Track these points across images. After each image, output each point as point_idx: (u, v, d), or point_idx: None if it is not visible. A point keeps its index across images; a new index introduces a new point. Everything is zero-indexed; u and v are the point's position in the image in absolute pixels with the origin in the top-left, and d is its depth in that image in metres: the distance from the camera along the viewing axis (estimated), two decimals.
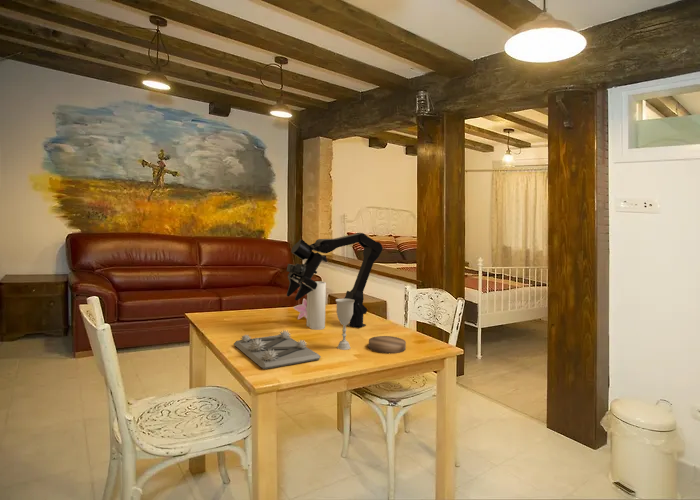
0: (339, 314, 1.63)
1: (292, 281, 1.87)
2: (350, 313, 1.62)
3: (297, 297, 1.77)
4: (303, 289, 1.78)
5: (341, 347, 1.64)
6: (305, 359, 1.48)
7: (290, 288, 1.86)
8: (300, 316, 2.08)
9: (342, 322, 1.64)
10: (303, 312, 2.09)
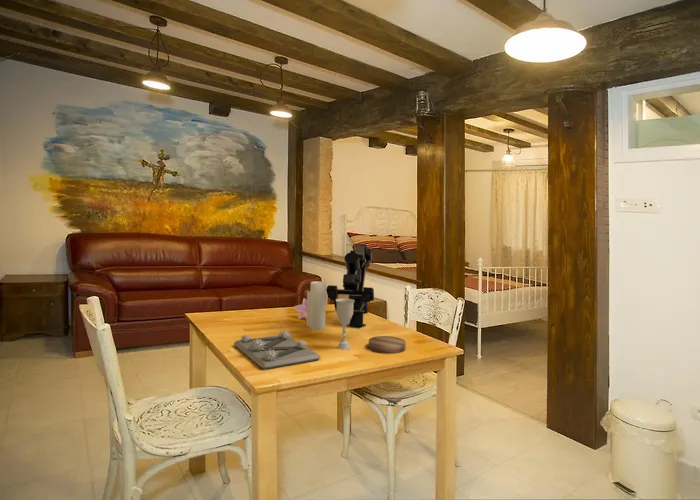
0: (339, 314, 1.63)
1: (336, 294, 1.74)
2: (350, 313, 1.62)
3: (360, 308, 1.70)
4: (363, 300, 1.73)
5: (341, 347, 1.64)
6: (305, 359, 1.48)
7: (336, 302, 1.73)
8: (300, 316, 2.08)
9: (342, 322, 1.64)
10: (303, 312, 2.09)
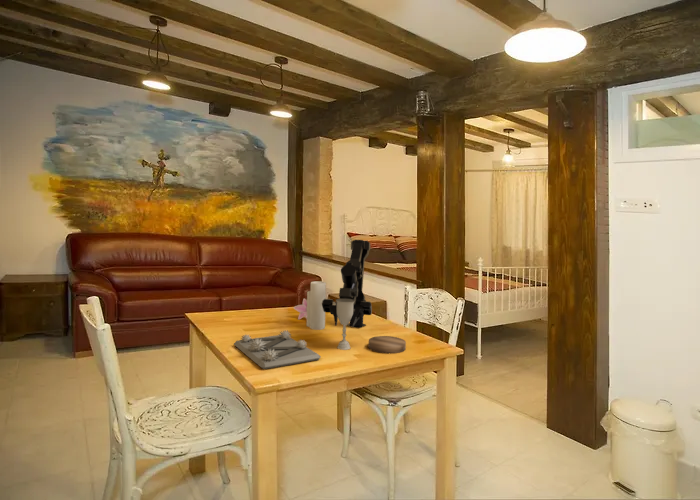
0: (339, 314, 1.63)
1: (336, 309, 1.67)
2: (350, 313, 1.62)
3: (353, 323, 1.64)
4: (356, 314, 1.66)
5: (341, 347, 1.64)
6: (305, 359, 1.48)
7: (336, 317, 1.66)
8: (300, 316, 2.07)
9: (342, 322, 1.64)
10: (303, 312, 2.08)
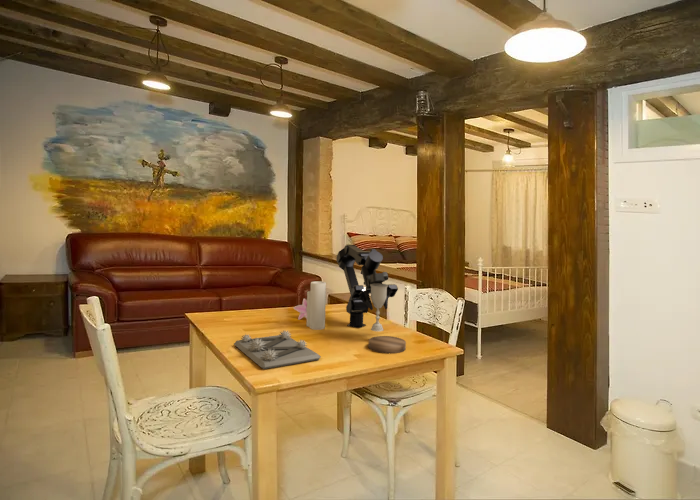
0: (376, 299, 1.71)
1: None
2: None
3: None
4: None
5: (378, 329, 1.73)
6: (305, 359, 1.48)
7: None
8: (300, 316, 2.07)
9: (378, 306, 1.73)
10: (303, 312, 2.08)
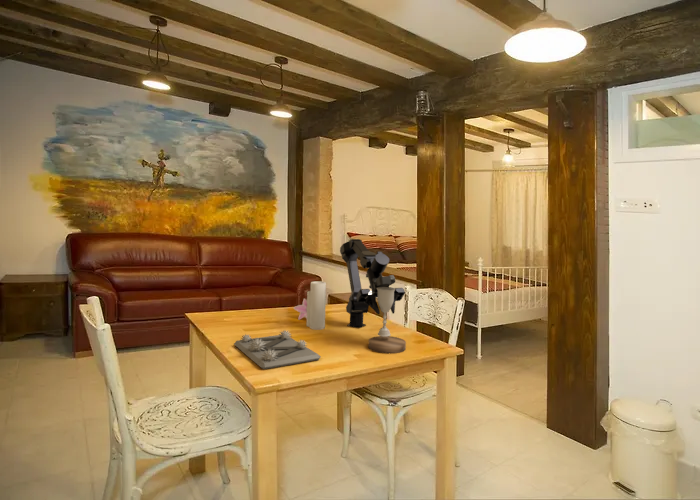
0: (384, 302, 1.66)
1: None
2: (393, 300, 1.68)
3: None
4: None
5: (385, 334, 1.67)
6: (305, 359, 1.48)
7: None
8: (300, 316, 2.07)
9: (385, 310, 1.67)
10: (303, 312, 2.08)
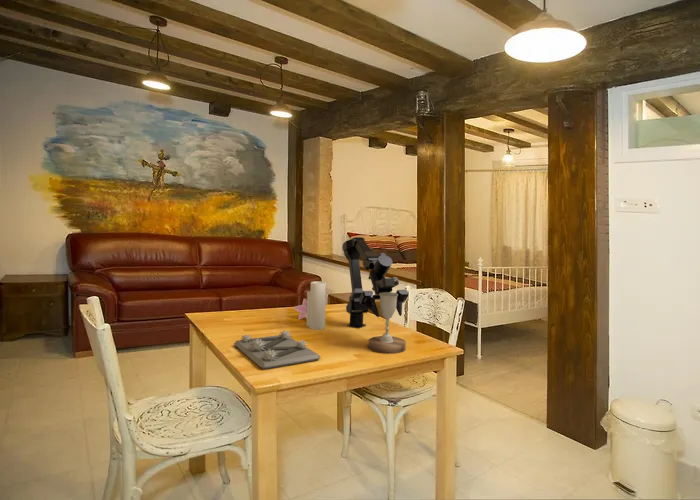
0: (386, 309, 1.63)
1: None
2: None
3: None
4: None
5: (387, 340, 1.65)
6: (305, 359, 1.48)
7: None
8: (300, 316, 2.07)
9: (388, 316, 1.65)
10: (303, 312, 2.08)
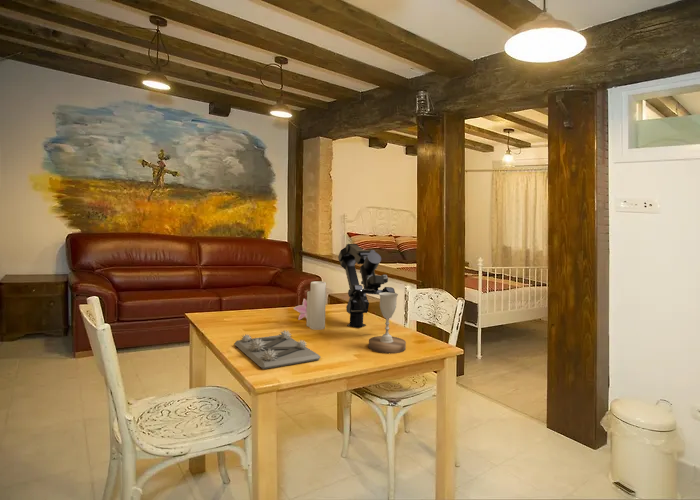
0: (386, 308, 1.64)
1: None
2: (395, 306, 1.65)
3: None
4: None
5: (387, 340, 1.65)
6: (305, 359, 1.48)
7: None
8: (300, 317, 2.07)
9: (388, 316, 1.65)
10: (303, 313, 2.08)
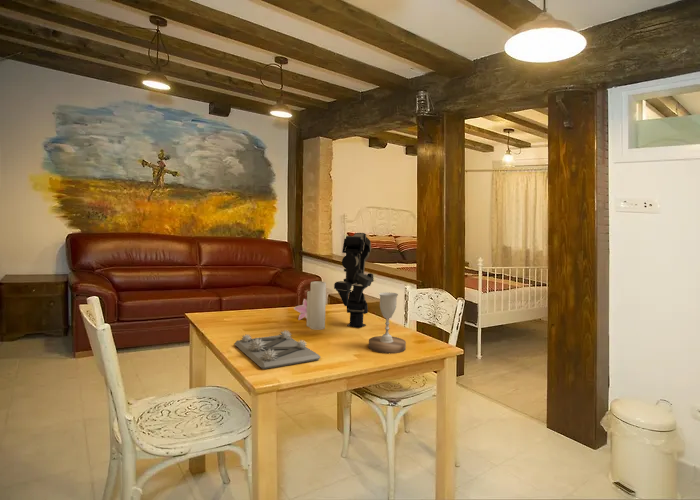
0: (386, 308, 1.64)
1: None
2: (395, 306, 1.65)
3: None
4: None
5: (387, 340, 1.65)
6: (305, 359, 1.47)
7: None
8: (301, 317, 2.06)
9: (388, 316, 1.65)
10: (304, 313, 2.07)
